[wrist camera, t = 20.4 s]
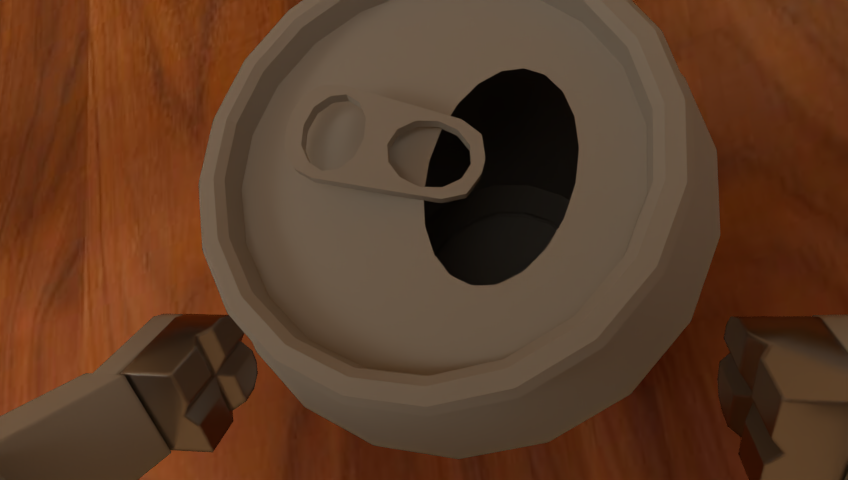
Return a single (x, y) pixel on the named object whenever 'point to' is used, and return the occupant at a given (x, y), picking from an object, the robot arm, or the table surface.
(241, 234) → the can
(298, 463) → the table surface
